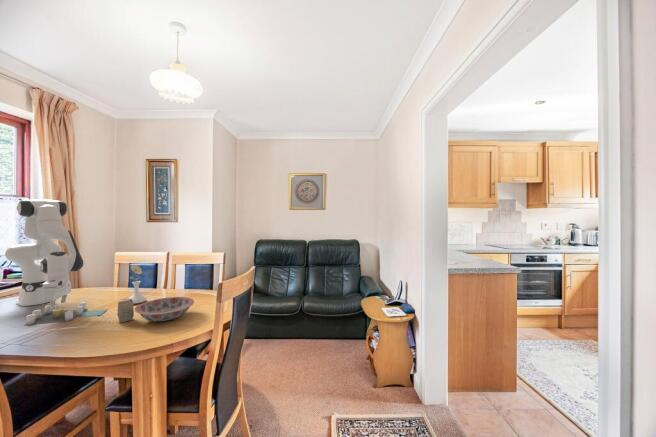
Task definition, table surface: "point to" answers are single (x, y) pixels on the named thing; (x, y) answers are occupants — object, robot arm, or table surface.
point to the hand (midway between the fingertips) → (58, 305)
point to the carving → (125, 310)
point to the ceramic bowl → (164, 308)
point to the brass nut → (58, 313)
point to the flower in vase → (136, 287)
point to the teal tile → (93, 313)
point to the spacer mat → (48, 316)
